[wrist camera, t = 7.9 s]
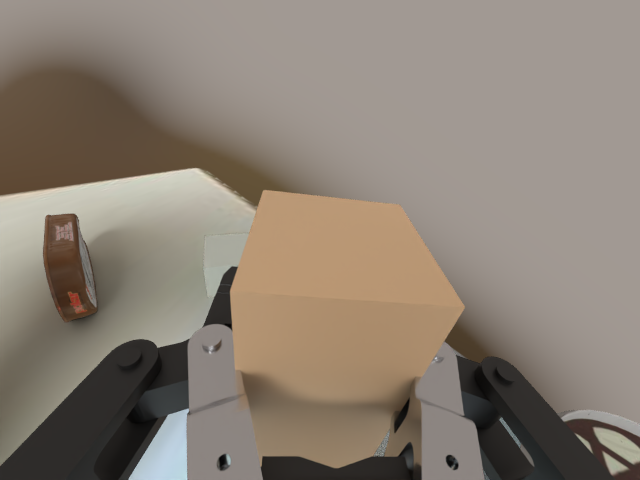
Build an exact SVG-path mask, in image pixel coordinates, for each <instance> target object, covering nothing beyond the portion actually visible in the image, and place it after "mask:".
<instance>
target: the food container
mask: <svg viewBox="0 0 640 480" xmlns="http://www.w3.org/2000/svg"><path fill="white" fill-rule="evenodd" d="M557 414H558V416H559V417H560V418H561V419H562V420H563V421H564V422H565V423H566V424H567V426H568V427H569V428H570V429H571V430H572V431H573V432H574V433H575V434H576V436H577V437H578V438H579V439H580V440H581V441H582V442H583V443H584V445H585V446H586V447H587V448H588V449H589V450H590V451H591V452H592V453H593V455H594V456H595V457H596V458H597V459H598V460H599V461H600V462H601V464H602V465H603V466H604V467H605V468H606V469H607V470H608V471H609V472H610V474H611V475H612V476H613V477H614V478H615V479H616V480H640V424H638V423H636V422H633V421H631V420H628V419H626V418H623V417H620V416H617V415H613V414H610V413H606V412H602V411H595V410H571V411H565V412H561V413H557ZM520 449H521V451H522V452H523V454H524V455H525V456H526V458H527V459H528V460H529V462H530V463H531V464H532V465H533V466H534V463H533V460H532V458H531V456H530V455H529V453H528V452H527V450H526V449H525V448H524V446H523V445H522V444H521V447H520Z"/></svg>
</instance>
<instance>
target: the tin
mask: <svg viewBox="0 0 640 480" xmlns="http://www.w3.org/2000/svg"><path fill="white" fill-rule="evenodd" d="M43 258H44V266H45V271H46V276H47V280H48V284H49V287H50V291H51V294H52V297H53V300H54V302H55V305H56V308H57V310H58V312H59V314H60V316H61V317H62V319H63V320H64V321H65V322H70V321H71V320H74V319H78V318H81V317H85V316H88V315H91V314H94V313H95V312H97V309H98V306H97V298H96V289H95V281H94V275H93V270H92V265H91V260H90V256H89V252H88V249H87V245H86V243H85V241H84V240H83V238H82V235H81V232H80V228H79V220H78V217H77V215H75V214H62V215H52V216H51V215H46V218H45V233H44V246H43Z"/></svg>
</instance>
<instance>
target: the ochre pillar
mask: <svg viewBox="0 0 640 480" xmlns="http://www.w3.org/2000/svg"><path fill="white" fill-rule="evenodd" d="M230 300H231V315H232V331H233V346H234V361H235V370H241V374H242V380H243V385H244V390H245V394H246V395H247V399H248V403H249V408H250V414H251V419H252V424H253V429H254V435H255V440H256V445H257V451H258V456H259V461H260V467H261V466H262V457H263V456H300V457H303V458H306V459H309V460H312V461H315V462H318V463H321V464H324V465H327V466H330V467H333V468H340V467H343V466H346V465H349V464H352V463H355V462H357V461H360V460H363V459H366V458H369V457H373V455H374V454H375V452H376V450H377V449H378V447H379V446H380V444H381V442H382V441H383V439H384V438H385V436H386V434H387V433H388V431H389V429H390V423H391V417H392V415H393V413H394V412H395V411H401V410H402V408H403V407H404V405H405V404H406V402H407V400H408V399H409V397H410V385H411V383H412V381H413V380H414V378H415V376H417V377H422V376H423V375H424V373H425V371H426V370H427V368H428V366H429V365H430V363H431V362H432V360H433V358H434V357H435V355H436V354H437V352H438V350H439V349H440V347H441V346H442V344H443V342H444V341H445V339H446V337H447V336H448V334H449V332H450V331H451V329H452V328H453V326H454V324H455V323H456V321H457V320H458V318H459V316H460V315H461V313H462V312H463V310H464V308H465V306H464V305H463V303H462V302H461V300H460V299H459V297H458V295H457V294H456V292H455V291H454V289H453V287H452V286H451V284H450V283H449V281H448V280H447V278H446V276H445V275H444V273H443V272H442V270H441V269H440V267H439V265H438V264H437V262H436V261H435V259H434V258H433V256H432V254H431V253H430V251H429V250H428V248H427V247H426V245H425V243H424V242H423V240H422V239H421V237H420V236H419V234H418V232H417V231H416V229H415V228H414V226H413V225H412V223H411V221H410V220H409V219H408V217H407V215H406V214H405V212H404V210H403V209H402V207H401V206H400V205H398V204H389V203H380V202H371V201H361V200H352V199H343V198H333V197H324V196H314V195H306V194H297V193H288V192H278V191H269V190H263V193H262V196H261V199H260V203H259V205H258V208H257V211H256V214H255V217H254V220H253V223H252V226H251V229H250V232H249V235H248V238H247V241H246V244H245V247H244V250H243V253H242V256H241V259H240V262H239V266H238V269H237V272H236V275H235V278H234V281H233V284H232V287H231V290H230Z"/></svg>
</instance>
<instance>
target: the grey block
mask: <svg viewBox="0 0 640 480" xmlns="http://www.w3.org/2000/svg"><path fill="white" fill-rule="evenodd" d="M248 235H249V233H238V234H221V235H205V242H204V262H203V270H204V277H205V283H206V290H207V297H215V295H216V293H217V290H218V287H219V286H220V282H221V279H222V277H223V274H224V273H225V272H226V271H227V270H228V269H229V268H230V267H231V266H235V267H238V266H239V262H240V259H241V256H242V253H243V250H244V247H245V244H246V241H247V238H248Z"/></svg>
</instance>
